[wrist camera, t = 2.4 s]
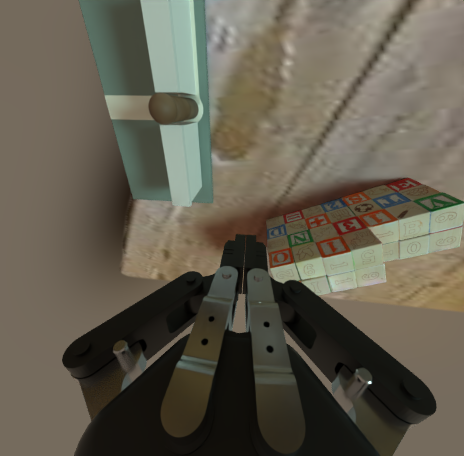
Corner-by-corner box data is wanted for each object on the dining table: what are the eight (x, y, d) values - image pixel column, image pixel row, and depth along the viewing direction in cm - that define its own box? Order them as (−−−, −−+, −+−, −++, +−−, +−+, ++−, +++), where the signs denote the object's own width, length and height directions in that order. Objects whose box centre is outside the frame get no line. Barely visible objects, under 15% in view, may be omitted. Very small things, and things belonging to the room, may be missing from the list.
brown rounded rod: (180, 97, 26) (139, 91, 17) (199, 97, 25) (169, 91, 17) (182, 119, 27) (146, 125, 18) (200, 120, 27) (173, 126, 18)
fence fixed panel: (168, -11, 20) (130, -63, 14) (190, -12, 20) (160, -65, 14) (179, 95, 25) (155, 92, 19) (197, 96, 25) (178, 92, 19)
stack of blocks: (408, 175, 28) (499, 216, 17) (408, 212, 31) (486, 266, 20) (264, 220, 34) (268, 269, 24) (275, 247, 37) (283, 302, 26)
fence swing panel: (181, 120, 26) (159, 124, 20) (198, 121, 26) (181, 125, 20) (188, 186, 31) (172, 205, 25) (203, 187, 31) (190, 206, 25)
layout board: (68, -47, 20) (64, -51, 20) (202, -55, 19) (200, -59, 18) (134, 197, 34) (132, 199, 34) (213, 202, 33) (212, 203, 33)
